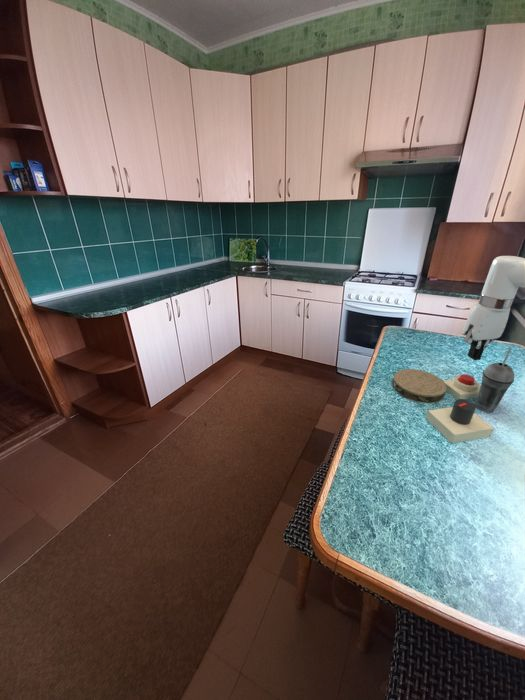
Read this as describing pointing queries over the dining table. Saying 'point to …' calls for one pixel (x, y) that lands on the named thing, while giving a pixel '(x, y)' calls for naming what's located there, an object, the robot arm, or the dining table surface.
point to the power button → (466, 379)
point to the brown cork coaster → (419, 385)
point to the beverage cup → (494, 385)
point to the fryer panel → (458, 426)
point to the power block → (462, 389)
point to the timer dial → (462, 411)
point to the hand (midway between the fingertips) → (473, 357)
